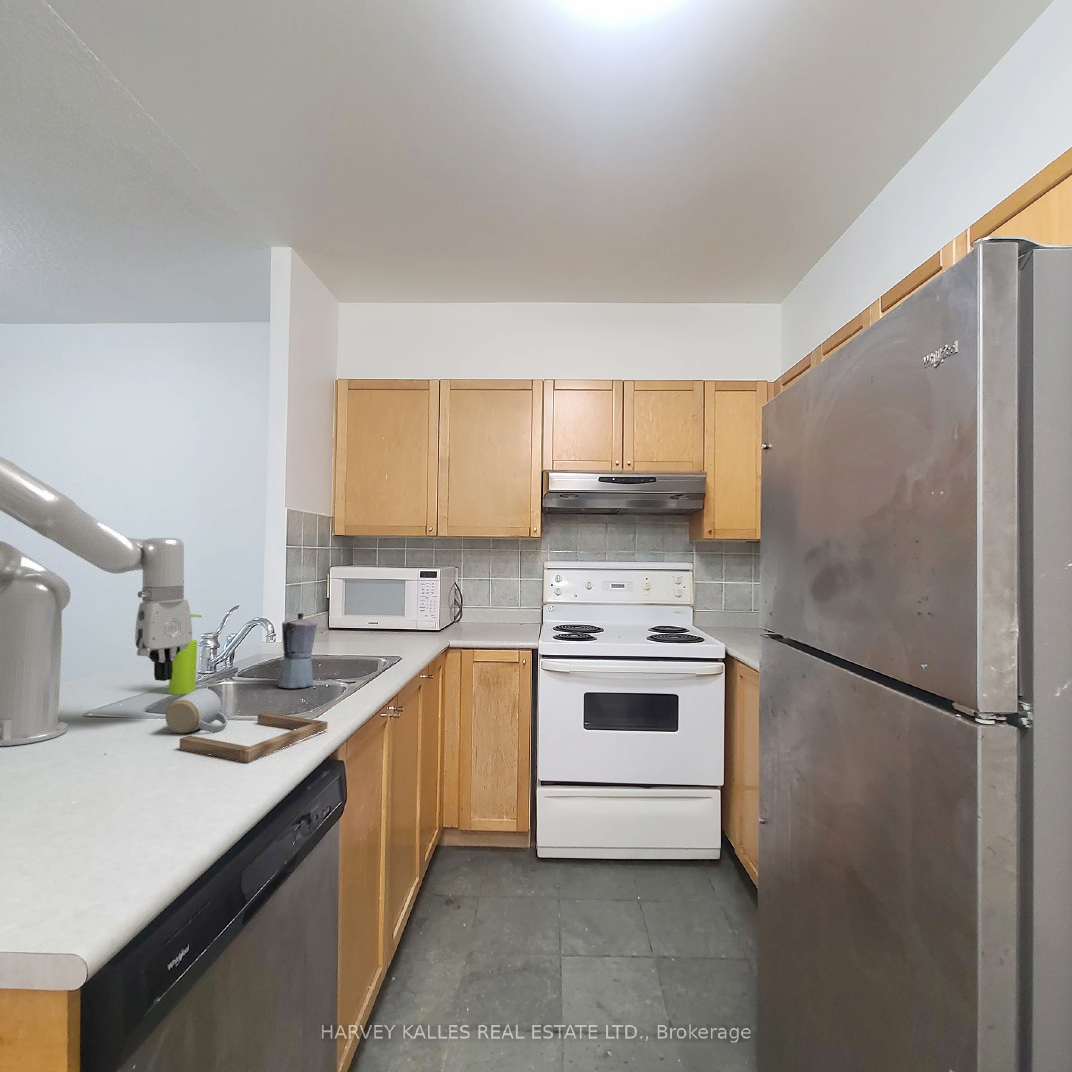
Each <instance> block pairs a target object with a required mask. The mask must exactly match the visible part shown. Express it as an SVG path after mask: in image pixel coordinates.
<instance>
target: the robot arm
mask: <svg viewBox="0 0 1072 1072" xmlns="http://www.w3.org/2000/svg"><path fill="white" fill-rule="evenodd" d="M0 512H2V513H4V514H6V515H8V516H9V517H10V518H13V519H15V520H16V521H17V522H19V523H21V524H23V525H25V526H26V527H28V528H29V529H30V530H31V529H32V530H33V531H34V532H36V533H37V534H39V535H41V536H42V537H45V538H47V539H49V540H50V541H52V542H54V543H56V544H57V545H59V546H60V547H63V548H64V549H66V550H68V551H69V552H71V553H72V554H75V555H76V556H77V557H80V558H81V559H82V560H84V561H86V562H88V563H90V564H92V565H93V566H95V567H97V568H98V569H100V570H102V571H105V572H107V573H109V574H124V573H127V572H133V571H140V570H142V589H141V590H139V591H138V592H137V597H138V599H139V598H141V600H142V601H141V602H140V603H139V605H138V610H137V614H136V620H135V630H134V631H135V633H134V637H135V638H134V643H135V647H136V648H137V650H136V651H137V652H136V655H137V657H148V658H149V659H150V661H151V662H152V663H153V666H154V667H153V668H154V669H153V671H154V672H153V676H154V680H155V681H161V682H166V681H169V680H171V679H172V672H173V660H175V658H176V655H177V654H178V652H179V651H181V650H183V649H185V648H187V647H188V643H190V642H191V640H193V624H192V617H191V614H192V613H191V609H190V606H189V601H188V599H185V598H184V597H185V593H184V592H185V591H184V590H185V588H184V587H185V579H184V577H185V574H184V573H185V571H184V569H185V563H184V562H185V557H184V556H185V552H184V551H185V545H184V542H183V540H181V539H180V538H175V537H151V538H147V539H146V538H145V539H144V538H143V539H142V538H131V537H126V536H125V535H123V534H122V533H119V532H118V531H116V530H114V529H113V528H111V527H110V526H108V525H106V524H105V523H103V522H101V521H100V520H98V519H97V518H95V517H94V516H92V515H90V514H89V513H87V512H86V510H85V511H84V509H82V508H81V507H80V506H79V505H78V504H77V503H76V502H75V501H74V500H72V499H71V498H70V497H68V496H66V495H65V494H63V493H62V492H60V491H58V490H56V489H55V488H54V487H52V486H50V485H48V484H47V483H45V482H43V481H42V480H40V479H38V478H37V477H35V476H33V475H32V474H31V473H29V472H27V471H25V470H24V469H22V468H20V467H19V466H18V465H17V464H16V463H14V462H12V461H10V460H7V459H6V458H4V457H2V456H0ZM70 600H71V588H70V587H69V584H68V583H67V581H65V579H63V578H62V577H61V576H60V575H58V574H56V572H54V571H52V570H51V569H49V568H47V567H45V565H43V564H41V563H39V562H38V561H36V560H35V559H33V558H32V557H31V556H29V555H28V554H26V553H24V552H23V551H21V550H20V549H18V548H16V547H15V546H14V545H11V544H10V543H7V542H4V541H1V540H0V747H7V746H18V745H19V746H20V745H25V744H32V743H36V742H42V741H46V740H50V739H53V738H56V737H59V736H61V735H63V734H65V733H67V731H68V730H69V729H68V728H69V727H68V723H66V722H63V721H59V709H60V708H59V707H60V688H61V686H60V685H61V669H62V668H61V667H62V665H61V664H62V662H61V661H62V640H63V639H62V638H63V637H62V636H63V633H62V631H63V628H62V627H63V626H62V625H63V624H62V622H63V621H62V619H63V618H62V615H63V610H64V609H65V608H66V607H67V606H68V604H69V603H70Z"/></svg>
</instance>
